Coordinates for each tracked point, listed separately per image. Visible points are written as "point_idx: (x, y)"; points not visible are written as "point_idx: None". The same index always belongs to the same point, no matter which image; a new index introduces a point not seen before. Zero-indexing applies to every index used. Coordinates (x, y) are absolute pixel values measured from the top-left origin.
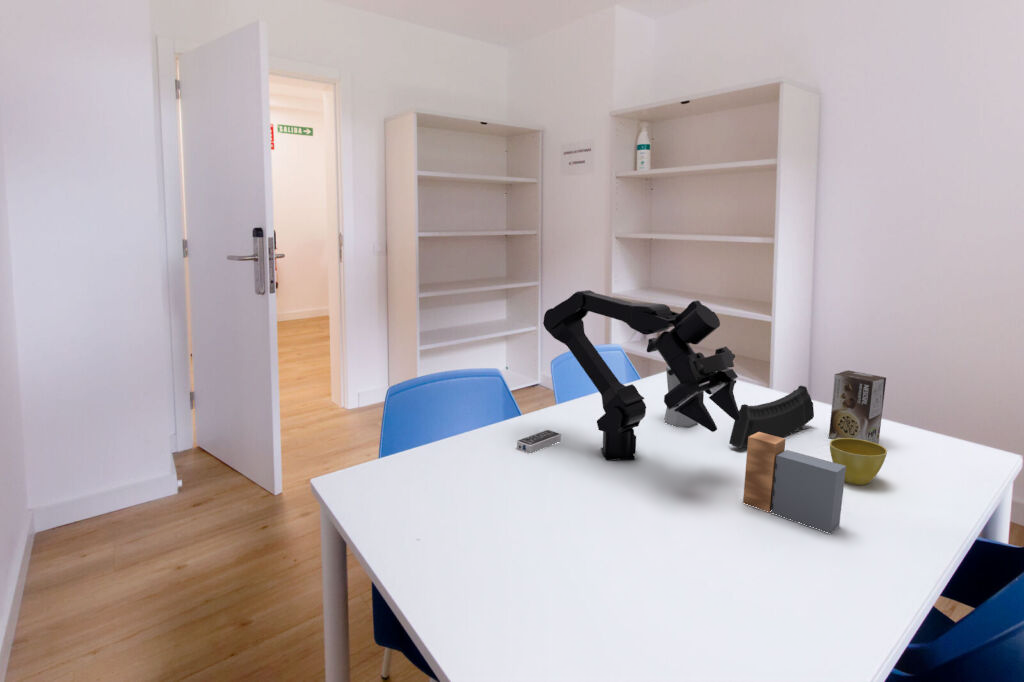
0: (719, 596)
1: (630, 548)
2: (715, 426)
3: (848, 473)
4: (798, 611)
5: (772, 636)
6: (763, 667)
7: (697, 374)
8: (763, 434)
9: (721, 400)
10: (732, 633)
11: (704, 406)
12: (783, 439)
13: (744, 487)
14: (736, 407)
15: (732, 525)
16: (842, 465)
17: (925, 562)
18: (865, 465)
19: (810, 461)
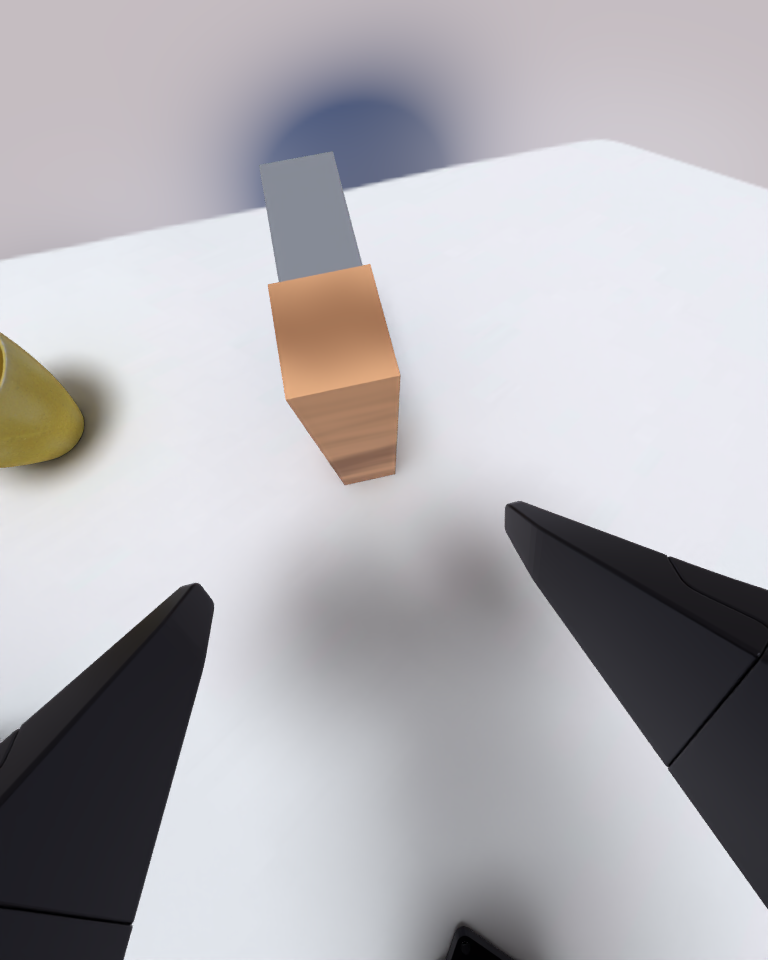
0: (682, 280)
1: (763, 446)
2: (528, 506)
3: (68, 407)
4: (594, 219)
5: (667, 204)
6: (717, 180)
7: None
8: (303, 362)
9: (75, 903)
10: (716, 226)
11: (738, 620)
12: (285, 282)
13: (395, 460)
14: (112, 657)
15: (496, 416)
16: (264, 171)
17: None
18: (29, 354)
19: (319, 222)
